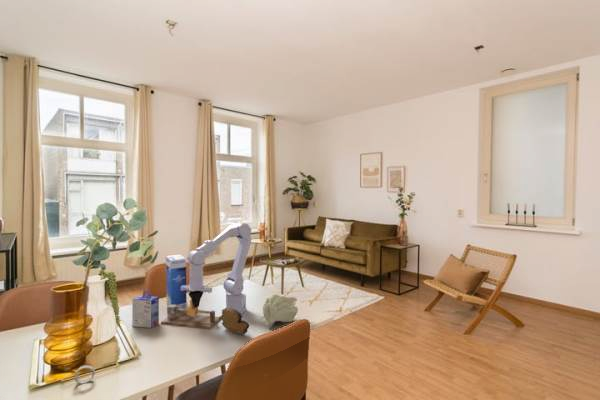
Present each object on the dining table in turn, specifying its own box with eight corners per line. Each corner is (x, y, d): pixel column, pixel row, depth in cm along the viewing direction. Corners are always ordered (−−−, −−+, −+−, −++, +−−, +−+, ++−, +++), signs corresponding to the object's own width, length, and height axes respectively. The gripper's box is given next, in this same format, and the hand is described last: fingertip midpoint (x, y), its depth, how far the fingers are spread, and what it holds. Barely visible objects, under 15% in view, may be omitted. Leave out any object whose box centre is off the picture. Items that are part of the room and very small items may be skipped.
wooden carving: (252, 334, 126) (252, 310, 126) (245, 338, 122) (245, 314, 122) (223, 325, 135) (223, 303, 134) (216, 329, 131) (215, 306, 130)
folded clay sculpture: (280, 331, 143) (285, 297, 150) (299, 332, 135) (303, 297, 141) (250, 326, 133) (256, 289, 139) (268, 327, 124) (274, 289, 131)
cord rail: (220, 319, 141) (220, 305, 140) (210, 329, 131) (210, 314, 130) (174, 314, 145) (174, 301, 145) (160, 323, 135) (160, 309, 135)
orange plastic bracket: (198, 313, 139) (198, 298, 138) (194, 315, 136) (194, 300, 136) (190, 312, 139) (190, 297, 139) (186, 314, 137) (186, 300, 136)
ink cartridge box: (159, 323, 136) (159, 291, 136) (151, 328, 131) (151, 295, 130) (140, 321, 138) (140, 289, 138) (131, 326, 133) (131, 294, 132)
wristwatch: (76, 381, 95) (76, 366, 95) (95, 377, 97) (94, 362, 97) (74, 387, 92) (73, 371, 92) (93, 382, 94) (93, 367, 94)
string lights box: (187, 309, 152) (186, 258, 151) (170, 313, 147) (170, 260, 146) (180, 301, 163) (180, 253, 162) (165, 304, 158) (165, 255, 157)
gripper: (176, 278, 134) (176, 309, 135) (206, 281, 131) (206, 311, 132) (185, 274, 141) (185, 303, 142) (214, 276, 138) (214, 305, 139)
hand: (196, 306), depth 137 cm, fingers closed
